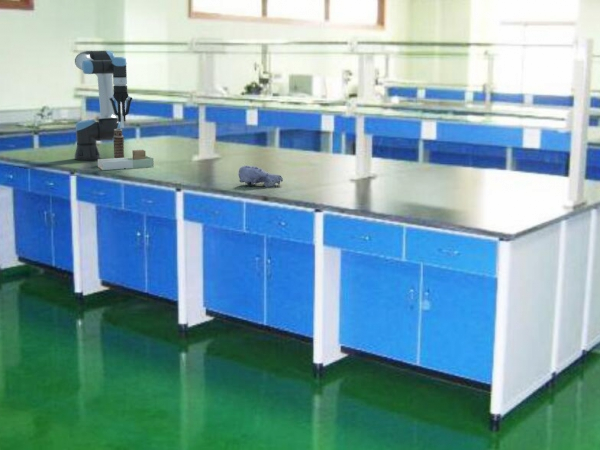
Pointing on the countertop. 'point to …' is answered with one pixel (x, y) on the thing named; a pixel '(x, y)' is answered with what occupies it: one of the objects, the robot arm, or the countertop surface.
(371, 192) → the countertop surface
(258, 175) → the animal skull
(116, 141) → the miniature building
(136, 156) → the walnut block
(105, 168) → the lane box
